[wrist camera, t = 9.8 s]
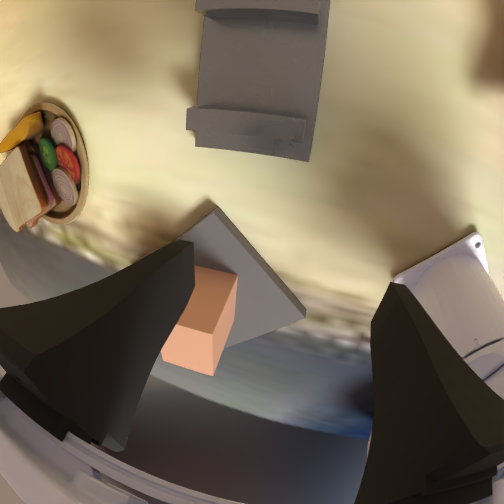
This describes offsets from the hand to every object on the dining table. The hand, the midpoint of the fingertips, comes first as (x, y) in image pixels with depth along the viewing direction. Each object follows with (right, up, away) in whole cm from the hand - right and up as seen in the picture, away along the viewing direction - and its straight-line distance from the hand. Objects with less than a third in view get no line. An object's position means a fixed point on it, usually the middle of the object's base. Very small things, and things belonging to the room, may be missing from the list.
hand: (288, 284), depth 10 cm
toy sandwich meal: (-21, +9, +11) cm, 26 cm away
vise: (-1, +12, +4) cm, 13 cm away
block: (-5, -2, +13) cm, 14 cm away
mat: (-4, -2, +14) cm, 15 cm away
